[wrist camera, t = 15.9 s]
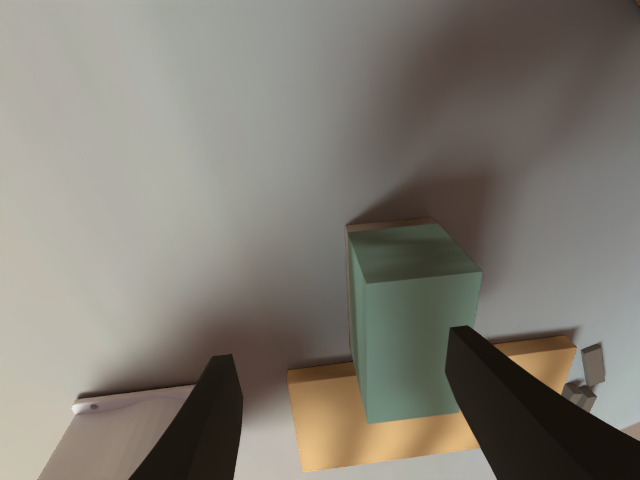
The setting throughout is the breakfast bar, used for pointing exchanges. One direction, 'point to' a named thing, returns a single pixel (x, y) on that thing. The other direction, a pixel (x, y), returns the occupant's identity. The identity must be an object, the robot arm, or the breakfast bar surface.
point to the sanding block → (406, 314)
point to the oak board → (403, 435)
